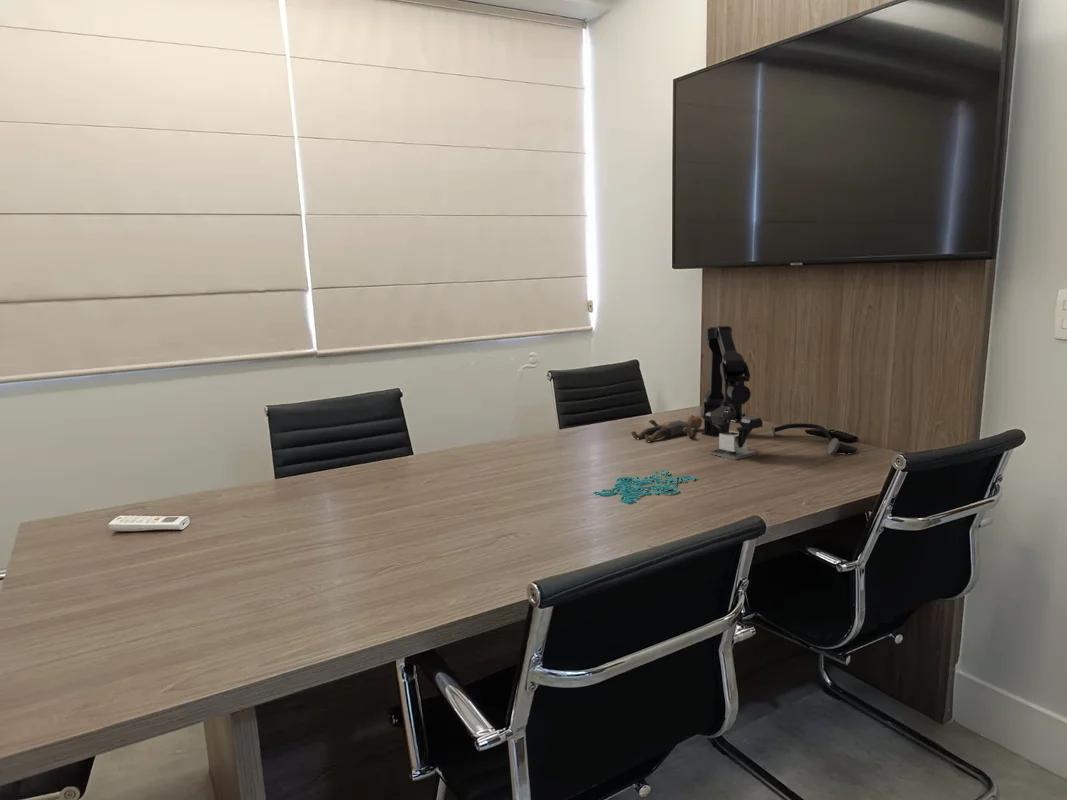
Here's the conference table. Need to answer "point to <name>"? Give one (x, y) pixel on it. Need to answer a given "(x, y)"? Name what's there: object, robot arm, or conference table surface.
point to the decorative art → (632, 496)
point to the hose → (834, 444)
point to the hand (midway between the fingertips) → (732, 445)
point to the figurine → (670, 428)
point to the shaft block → (733, 453)
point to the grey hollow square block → (730, 441)
